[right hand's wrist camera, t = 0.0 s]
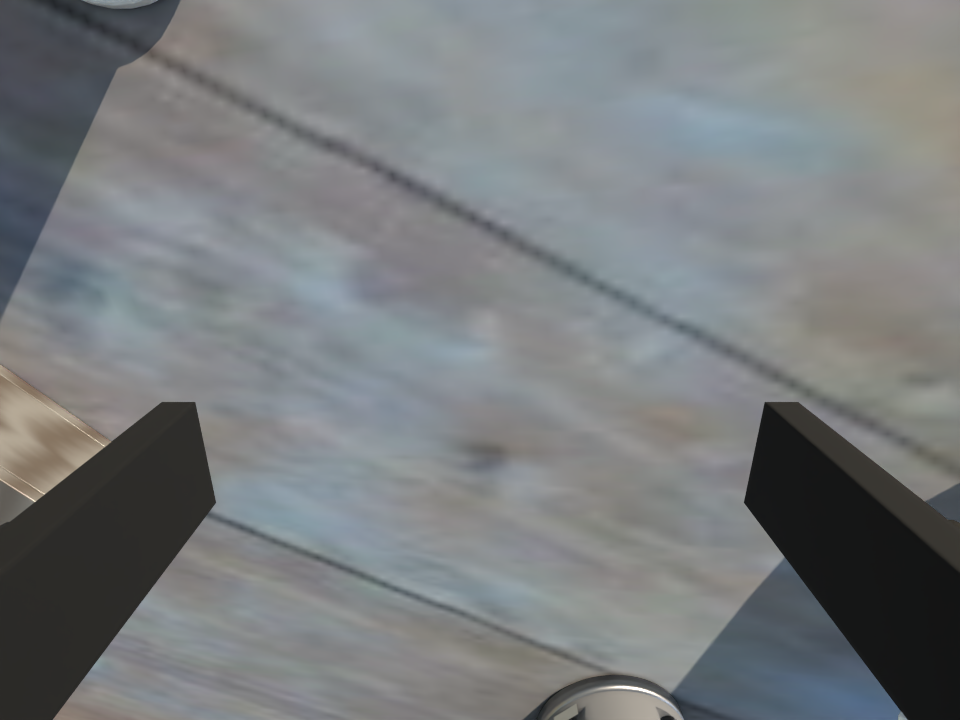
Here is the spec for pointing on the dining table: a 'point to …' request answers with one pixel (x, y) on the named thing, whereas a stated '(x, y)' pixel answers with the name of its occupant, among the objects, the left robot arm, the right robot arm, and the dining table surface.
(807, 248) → the dining table surface
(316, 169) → the dining table surface
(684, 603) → the dining table surface
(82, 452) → the cabinet
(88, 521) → the right robot arm
